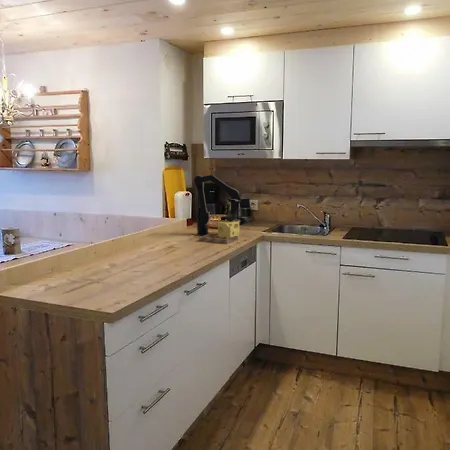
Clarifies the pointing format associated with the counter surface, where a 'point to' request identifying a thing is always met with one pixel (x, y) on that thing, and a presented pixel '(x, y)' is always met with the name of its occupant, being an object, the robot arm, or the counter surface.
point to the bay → (217, 239)
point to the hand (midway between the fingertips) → (234, 231)
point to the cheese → (228, 229)
